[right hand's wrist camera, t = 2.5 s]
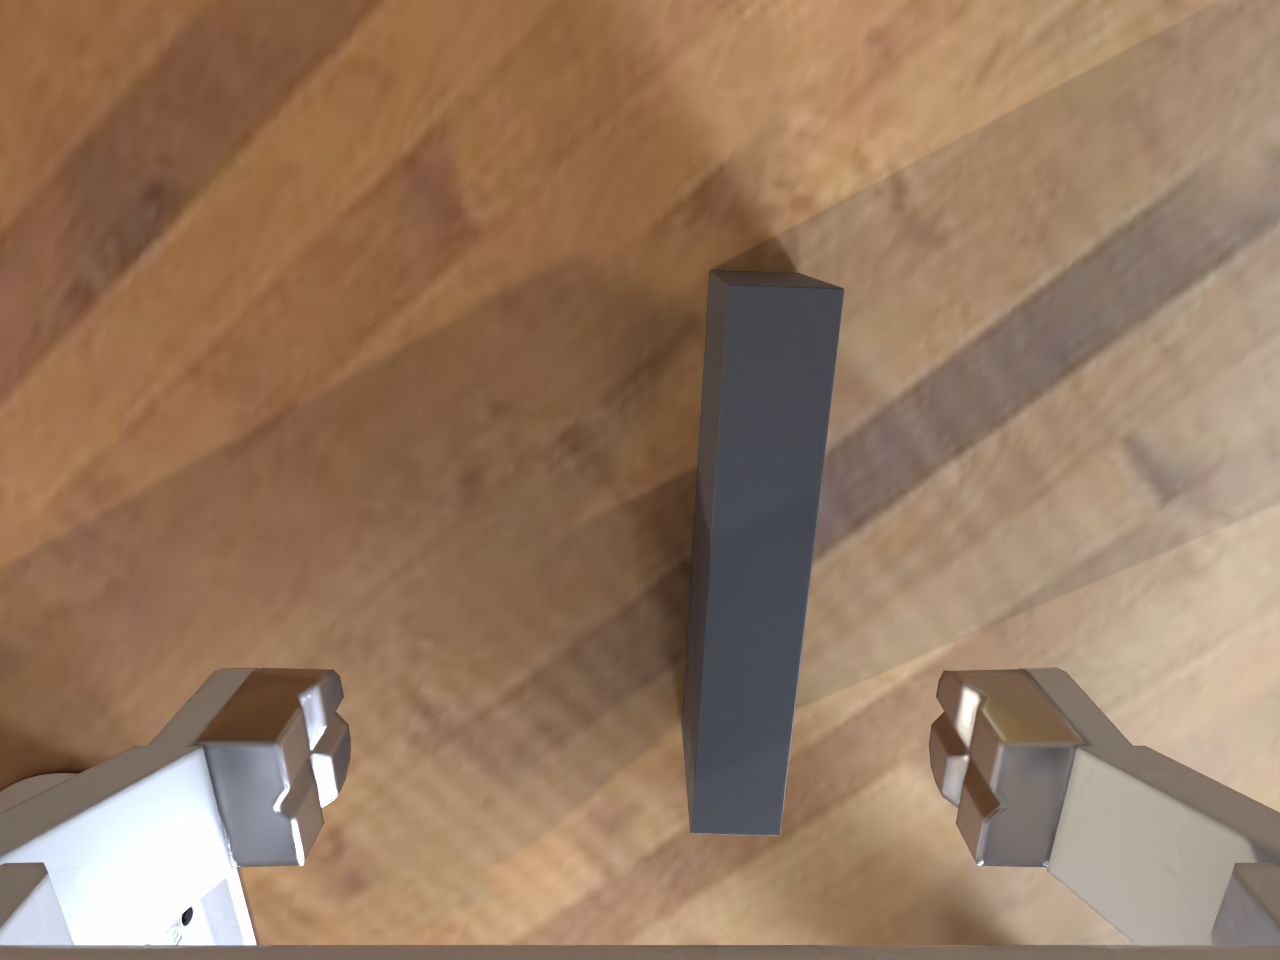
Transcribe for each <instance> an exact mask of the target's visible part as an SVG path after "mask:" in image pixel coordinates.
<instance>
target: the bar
mask: <svg viewBox="0 0 1280 960" xmlns="http://www.w3.org/2000/svg"><path fill="white" fill-rule="evenodd" d="M843 296H844V289H843V288H841V287H838V286H835V285H832V284H829V283H826V282H823V281H820V280H817V279H815V278H812V277H809V276H806V275H803V274H800V273H774V272H746V271H718V270H710V273H709V289H708V305H707V322H706V338H705V354H704V370H703V386H702V403H701V419H700V435H699V451H698V467H697V484H696V500H695V516H694V532H693V548H692V565H691V581H690V597H689V613H688V629H687V646H686V662H685V678H684V694H683V710H682V737H683V749H684V761H685V774H686V786H687V798H688V811H689V823H690V833H693V834H729V835H764V836H780V831H781V823H782V814H783V806H784V797H785V789H786V780H787V772H788V763H789V755H790V746H791V738H792V729H793V721H794V712H795V704H796V695H797V687H798V678H799V670H800V661H801V653H802V644H803V636H804V627H805V619H806V610H807V602H808V593H809V585H810V576H811V568H812V559H813V551H814V542H815V534H816V525H817V517H818V508H819V500H820V491H821V483H822V474H823V466H824V457H825V449H826V440H827V432H828V423H829V415H830V406H831V398H832V389H833V381H834V372H835V364H836V355H837V347H838V338H839V330H840V321H841V313H842V304H843Z"/></svg>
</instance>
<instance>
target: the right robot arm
mask: <svg viewBox="0 0 1280 960" xmlns="http://www.w3.org/2000/svg"><path fill="white" fill-rule="evenodd" d="M343 697H344V694H343V690H342V685H341V680H340V676H339V675H338V674H337V673H336V672H335V671H334V670H327V669H280V668H261V669H258V668H223V669H220V670H217V671H214V672H213V674H212V675H211V676H210V677H209V678H208V679H207V680H206V681H205V682H204V683H203V685H202V686H201V687H200V688H199V689H198V690H197V691H196V692H195V693H194V695H193V696H192V697H191V698H190V699H189V700H188V701H187V702H186V703H185V704H184V706H183V707H182V708H181V709H180V710H179V711H178V712H177V713H176V714H175V716H174V717H173V718H172V719H171V720H170V721H169V722H168V723H167V724H166V725H165V727H164V728H163V729H162V730H161V731H160V732H159V733H158V734H157V735H156V737H155V738H154V739H153V740H152V741H151V742H150V743H149V744H148V745H147V746H134V747H132V748H130V749H128V750H125V751H123V752H121V753H119V754H117V755H115V756H113V757H111V758H109V759H107V760H105V761H103V762H101V763H99V764H97V765H95V766H93V767H91V768H89V769H87V770H85V771H83V772H81V773H79V774H75V773H53V774H45V775H39V776H34V777H30V778H27V779H24V780H21V781H19V782H16V783H14V784H12V785H10V786H9V787H7V788H5V789H4V790H2V791H1V792H0V960H1280V813H1279V812H1277V811H1275V810H1273V809H1271V808H1269V807H1267V806H1265V805H1263V804H1261V803H1259V802H1257V801H1255V800H1253V799H1251V798H1249V797H1247V796H1245V795H1243V794H1241V793H1239V792H1237V791H1235V790H1233V789H1231V788H1229V787H1227V786H1225V785H1223V784H1221V783H1219V782H1217V781H1215V780H1213V779H1211V778H1209V777H1207V776H1205V775H1203V774H1201V773H1199V772H1197V771H1195V770H1193V769H1191V768H1189V767H1187V766H1185V765H1183V764H1181V763H1179V762H1177V761H1175V760H1173V759H1171V758H1169V757H1167V756H1165V755H1163V754H1161V753H1159V752H1157V751H1155V750H1153V749H1151V748H1148V747H1146V746H1133V745H1132V744H1131V743H1130V742H1129V741H1128V740H1127V739H1126V738H1125V737H1124V735H1123V734H1122V733H1121V732H1120V731H1119V730H1118V729H1117V728H1116V727H1115V725H1114V724H1113V723H1112V722H1111V721H1110V720H1109V719H1108V718H1107V717H1106V715H1105V714H1104V713H1103V712H1102V711H1101V710H1100V709H1099V708H1098V707H1097V706H1096V704H1095V703H1094V702H1093V701H1092V700H1091V699H1090V698H1089V697H1088V696H1087V694H1086V693H1085V692H1084V691H1083V690H1082V689H1081V688H1080V687H1079V686H1078V685H1077V683H1076V682H1075V681H1074V680H1073V679H1072V678H1071V677H1070V676H1069V675H1068V673H1067V672H1065V671H1063V670H1061V669H1059V668H1057V667H1054V668H1025V669H1014V670H954V671H943V673H942V675H941V677H940V679H939V683H938V689H937V694H936V697H937V699H938V701H939V703H940V704H941V706H942V708H943V710H944V712H943V713H942V714H941V715H940V716H939V717H938V718H937V719H936V720H935V721H934V723H933V724H932V725H931V733H930V742H929V751H930V762H931V768H932V772H933V775H934V779H935V782H936V784H937V786H938V788H939V790H940V792H941V794H942V797H944V798H945V799H946V800H948V801H949V802H951V803H952V804H954V805H955V806H956V807H958V808H959V809H958V814H957V820H956V824H957V826H958V828H959V830H960V832H961V834H962V836H963V838H964V840H965V842H966V844H967V846H968V848H969V850H970V852H971V854H972V856H973V858H974V859H975V861H976V863H977V865H982V866H1018V867H1048V868H1047V871H1048V872H1049V873H1050V874H1052V875H1053V876H1054V877H1055V878H1056V879H1058V880H1059V881H1060V882H1061V883H1062V884H1064V885H1065V886H1066V887H1067V888H1068V889H1070V890H1071V891H1072V892H1073V893H1074V894H1075V895H1077V896H1078V897H1079V898H1080V899H1081V900H1083V901H1084V902H1085V903H1086V904H1087V905H1089V906H1090V907H1091V908H1092V909H1093V910H1095V911H1096V912H1097V913H1098V914H1099V915H1101V916H1102V917H1103V918H1104V919H1105V920H1107V921H1108V922H1109V923H1110V924H1111V925H1112V926H1114V927H1115V928H1116V929H1117V930H1118V931H1120V932H1121V933H1122V934H1123V935H1124V936H1126V937H1127V938H1128V939H1129V940H1130V941H1132V942H1133V943H1134V944H1135V945H257V944H256V940H255V936H254V933H253V929H252V925H251V921H250V917H249V913H248V910H247V906H246V902H245V898H244V894H243V891H242V887H241V883H240V879H239V875H238V871H237V868H236V867H261V866H296V865H303V864H304V862H305V860H306V858H307V856H308V854H309V852H310V850H311V848H312V846H313V844H314V842H315V840H316V838H317V836H318V834H319V832H320V830H321V828H322V826H323V824H324V820H323V814H322V807H324V806H325V805H327V804H328V803H329V802H331V801H332V800H334V799H335V798H336V797H338V794H339V792H340V790H341V788H342V786H343V784H344V782H345V780H346V775H347V771H348V766H349V762H350V752H351V739H350V732H349V725H348V724H347V722H346V721H345V720H344V719H343V718H342V717H341V716H340V715H339V714H338V713H337V712H336V710H337V708H338V706H339V704H340V703H341V701H342V699H343Z"/></svg>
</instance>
